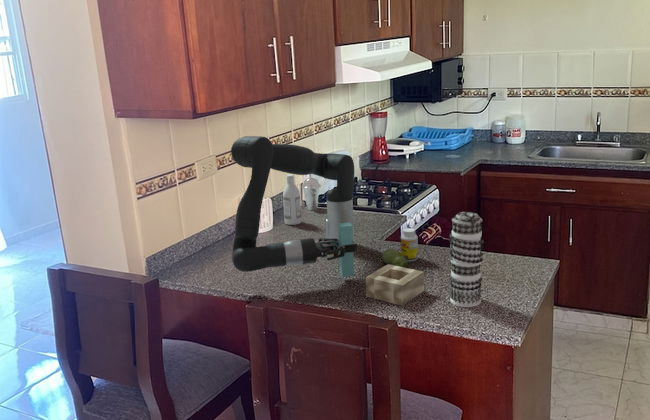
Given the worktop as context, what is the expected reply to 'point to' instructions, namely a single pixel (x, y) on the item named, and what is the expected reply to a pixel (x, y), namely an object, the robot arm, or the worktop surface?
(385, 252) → the pear
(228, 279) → the worktop surface
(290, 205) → the bath foam
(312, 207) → the cup with straw
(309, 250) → the robot arm
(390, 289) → the socket block
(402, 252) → the supplement bottle
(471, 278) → the decorative candle
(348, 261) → the peg
